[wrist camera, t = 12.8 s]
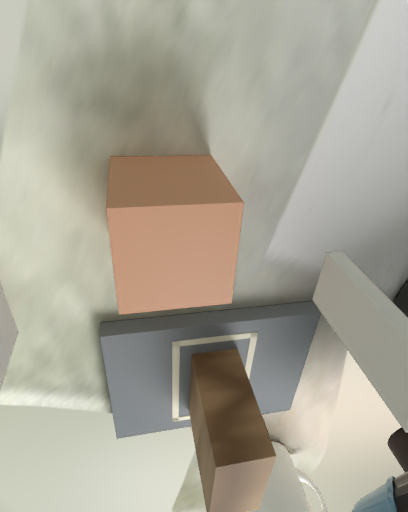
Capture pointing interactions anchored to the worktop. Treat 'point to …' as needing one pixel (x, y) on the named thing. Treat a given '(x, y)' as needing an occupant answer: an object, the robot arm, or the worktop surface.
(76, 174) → the worktop surface
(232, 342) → the baseboard
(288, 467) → the mug
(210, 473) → the tall cardboard box
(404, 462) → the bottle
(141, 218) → the cap cube
